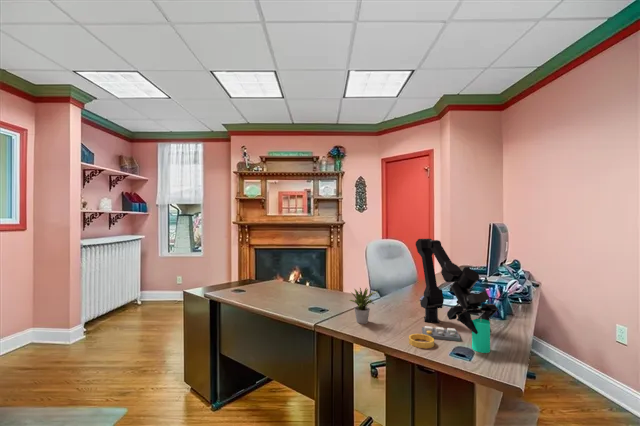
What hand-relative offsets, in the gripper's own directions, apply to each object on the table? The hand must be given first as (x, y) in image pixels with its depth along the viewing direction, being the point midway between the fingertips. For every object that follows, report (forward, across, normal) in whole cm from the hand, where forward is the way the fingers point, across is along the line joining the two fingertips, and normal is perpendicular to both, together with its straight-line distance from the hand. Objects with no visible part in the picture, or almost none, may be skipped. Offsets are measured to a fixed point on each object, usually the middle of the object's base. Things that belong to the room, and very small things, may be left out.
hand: (483, 332), depth 112 cm
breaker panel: (-7, -7, +17) cm, 19 cm away
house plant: (-22, -33, +32) cm, 51 cm away
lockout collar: (-3, -19, +12) cm, 23 cm away
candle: (+4, 0, +6) cm, 7 cm away
